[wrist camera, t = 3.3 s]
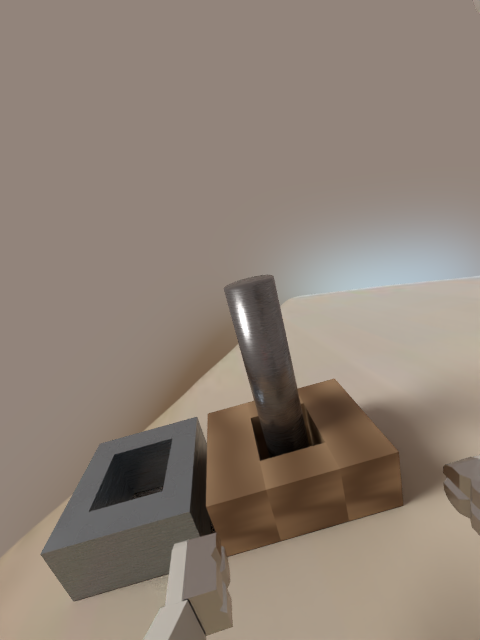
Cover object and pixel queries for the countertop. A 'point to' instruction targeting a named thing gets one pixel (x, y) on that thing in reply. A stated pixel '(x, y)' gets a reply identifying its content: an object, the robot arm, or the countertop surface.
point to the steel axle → (268, 362)
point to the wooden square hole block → (297, 471)
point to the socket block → (131, 510)
